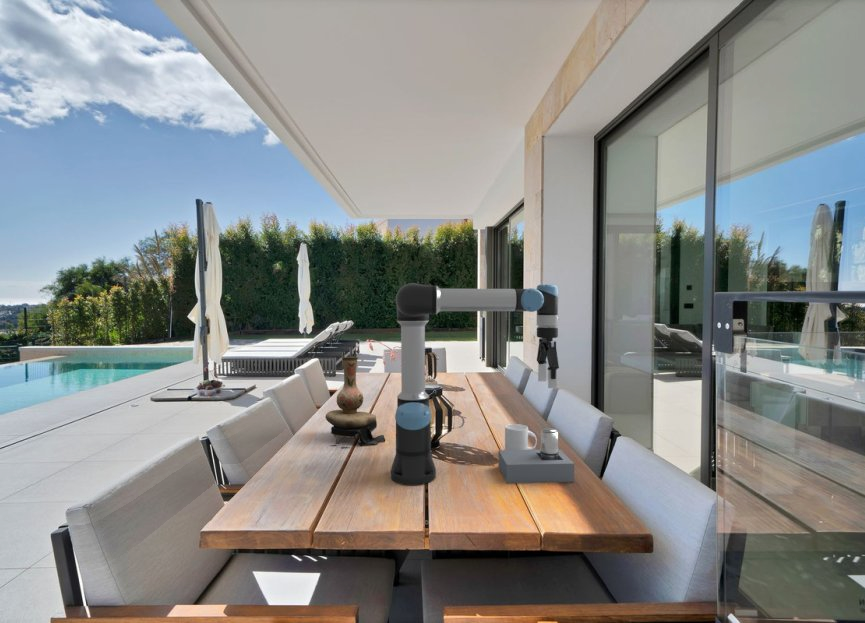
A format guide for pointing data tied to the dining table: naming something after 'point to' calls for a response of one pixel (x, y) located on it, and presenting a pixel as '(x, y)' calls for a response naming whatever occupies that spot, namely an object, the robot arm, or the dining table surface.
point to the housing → (534, 467)
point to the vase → (352, 410)
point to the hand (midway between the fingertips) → (547, 384)
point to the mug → (517, 437)
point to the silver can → (549, 444)
